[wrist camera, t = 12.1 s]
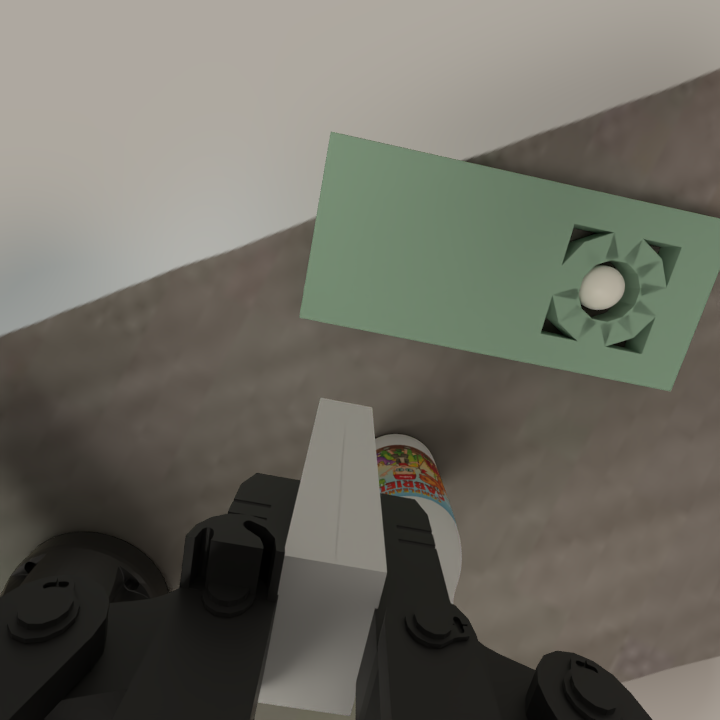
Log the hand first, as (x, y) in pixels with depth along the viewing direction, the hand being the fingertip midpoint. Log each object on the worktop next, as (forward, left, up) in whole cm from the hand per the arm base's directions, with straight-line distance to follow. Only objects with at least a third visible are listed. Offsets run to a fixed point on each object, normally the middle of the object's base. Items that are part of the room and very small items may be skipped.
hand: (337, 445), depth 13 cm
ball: (+20, +6, -25) cm, 32 cm away
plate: (+12, +6, -26) cm, 30 cm away
